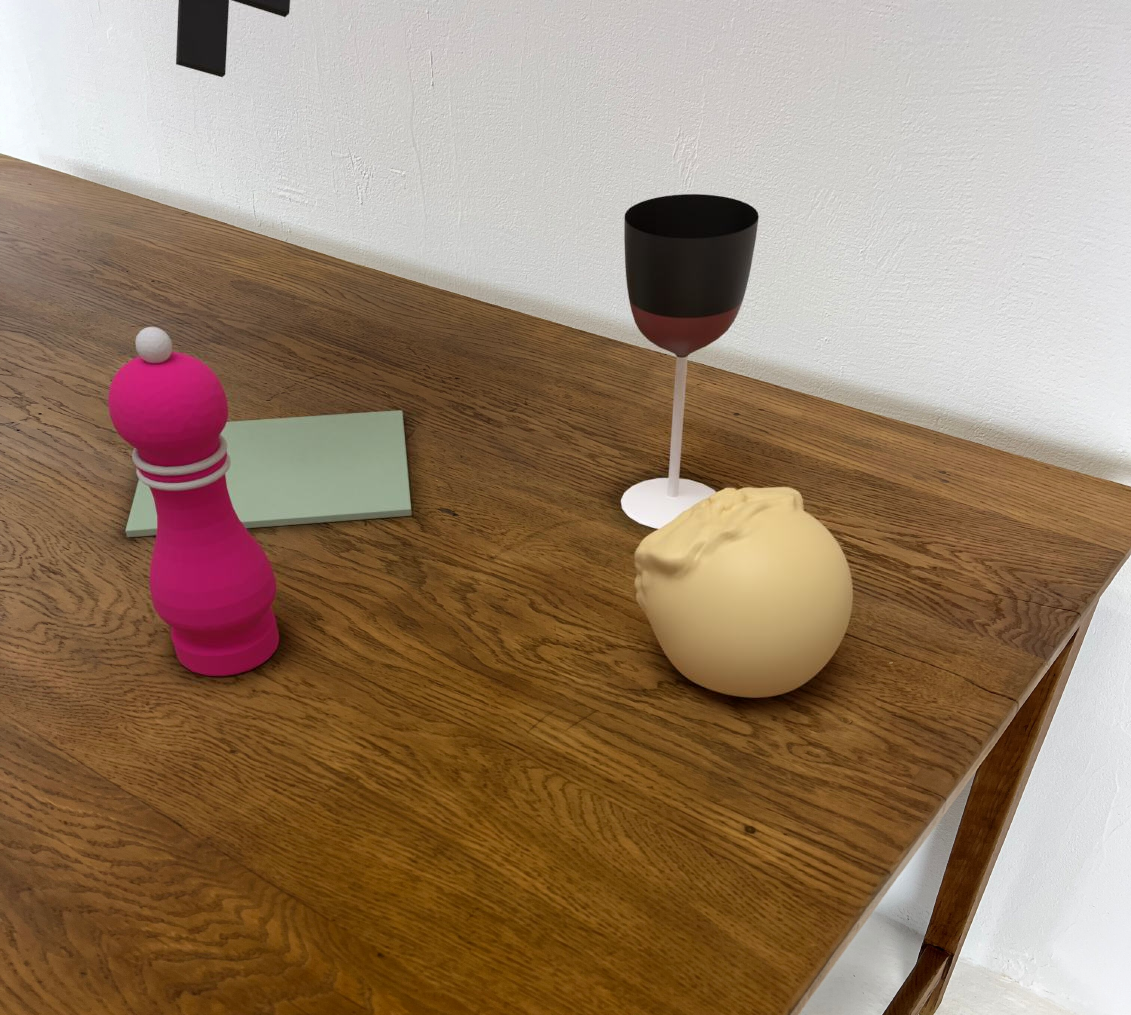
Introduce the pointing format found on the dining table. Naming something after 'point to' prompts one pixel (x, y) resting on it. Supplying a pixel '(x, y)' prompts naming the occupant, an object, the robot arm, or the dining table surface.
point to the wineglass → (683, 308)
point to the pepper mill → (194, 511)
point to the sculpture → (745, 591)
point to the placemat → (307, 471)
